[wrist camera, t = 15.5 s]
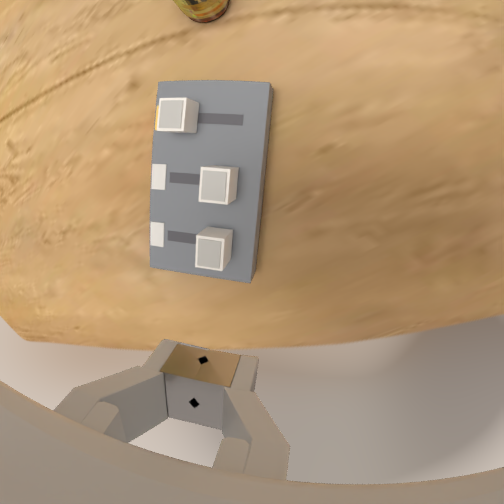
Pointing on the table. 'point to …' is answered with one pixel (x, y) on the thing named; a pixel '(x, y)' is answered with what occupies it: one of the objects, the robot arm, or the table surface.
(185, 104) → the knob
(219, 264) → the knob
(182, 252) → the console
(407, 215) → the table surface
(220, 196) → the knob
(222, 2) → the sauce bottle
